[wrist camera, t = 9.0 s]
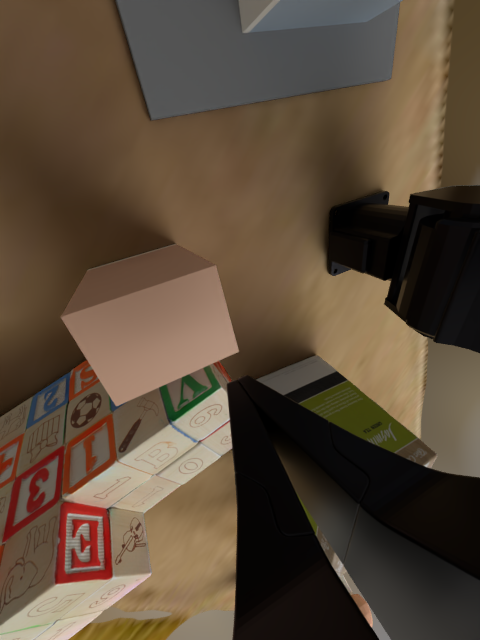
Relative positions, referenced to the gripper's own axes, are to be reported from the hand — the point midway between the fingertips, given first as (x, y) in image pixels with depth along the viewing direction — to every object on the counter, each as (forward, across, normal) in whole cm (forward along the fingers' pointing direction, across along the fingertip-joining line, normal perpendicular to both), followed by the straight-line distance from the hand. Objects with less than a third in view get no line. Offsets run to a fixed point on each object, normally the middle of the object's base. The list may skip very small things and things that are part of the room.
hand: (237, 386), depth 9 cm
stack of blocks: (+12, +10, +8) cm, 17 cm away
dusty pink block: (+12, +2, 0) cm, 12 cm away
